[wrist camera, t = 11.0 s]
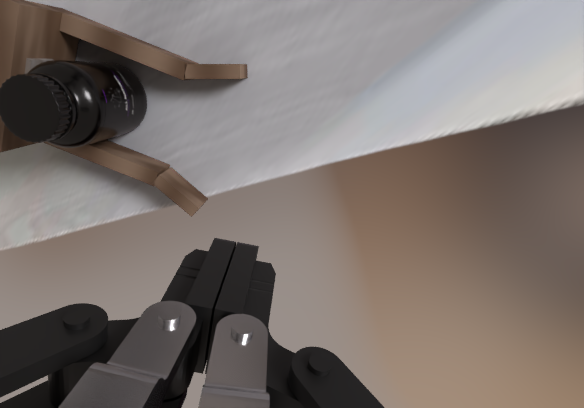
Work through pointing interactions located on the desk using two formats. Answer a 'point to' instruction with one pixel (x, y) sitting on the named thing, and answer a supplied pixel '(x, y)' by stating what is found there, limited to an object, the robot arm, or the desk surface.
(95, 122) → the supplement bottle
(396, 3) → the desk surface
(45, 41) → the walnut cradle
